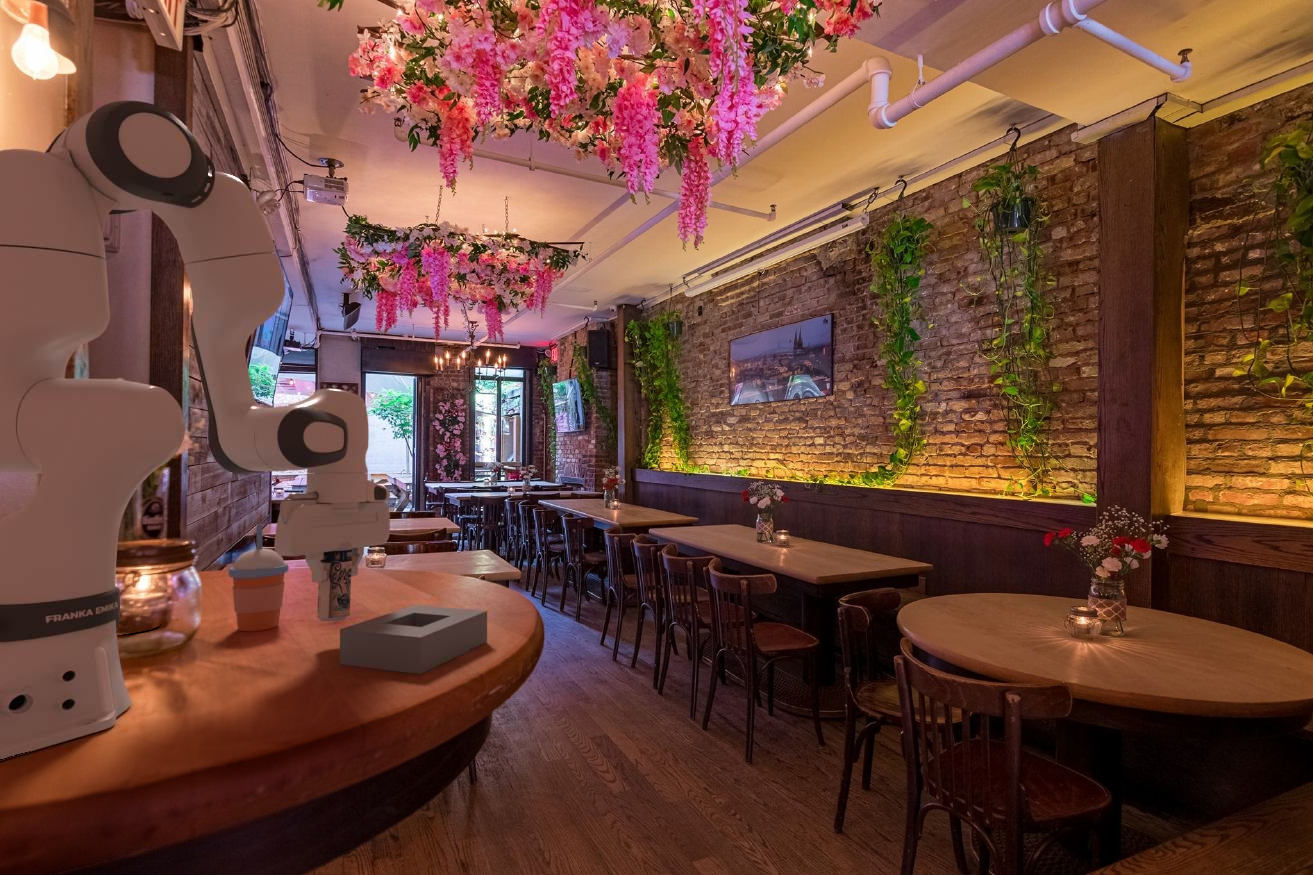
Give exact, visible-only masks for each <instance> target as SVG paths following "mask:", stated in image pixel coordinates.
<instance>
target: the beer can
mask: <svg viewBox="0 0 1313 875" xmlns="http://www.w3.org/2000/svg"><path fill="white" fill-rule="evenodd" d="M352 549H353V547H352V546H351V544H350V542H349V543H341V545H340V546H339V547H338V548H337V549H336V550H335V551H329V552H324V555H323V560H320V561H321V564H322V566H323V569H324V570H328V575H327V576H328V580H327V581H325V582H320V583H318V594H317V615H316V618H318V619H319V620H321V621H322V622H323V621H324V622H337V621H342V620H345V619H346V618H348V617H349V616H351V612H350V611H351V594H352V593H351V592H352V591H351V589H352V576H351V571H352Z"/></svg>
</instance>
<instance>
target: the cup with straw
mask: <svg viewBox="0 0 1313 875" xmlns="http://www.w3.org/2000/svg"><path fill="white" fill-rule="evenodd" d="M255 546H256V548H254V549H250V550H247V551H245V552H243V553H242V554H241V555H239V556H238V557H237V558H236V560H235V562H234V563H233V566H232V567H230V568H229V570H228V573H227V574H228V576H229V577H231V578H232V581H233V586H231V587H232V596H233V607H234V612H235V614H236V624H237V630H238V631H240V632H258V631H259V632H260V631H266V630H270V629H273V628H276V627H278V626H279V624H280V615H281V610H282V609H281V608H282V607H283V602H284V600H283V598H284V591H285V584H286V583H285V574H286V573H287V572H289V564H288V563H287V562H285V560H284V558H283V556H280V555H278V554H277V552H276V551H275V550H273V549H271V548H263V524H261V523H258V524H256V545H255Z"/></svg>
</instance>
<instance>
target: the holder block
mask: <svg viewBox="0 0 1313 875" xmlns="http://www.w3.org/2000/svg"><path fill="white" fill-rule="evenodd" d="M486 642H487V643H488V610H479V609H469V608H467V609H466V608H456V607H455V608H454V607H444V606H432V605H430V606H429V605H421V604H420V605H419V604H418V605H417V604H414V605H410V606H408V607H405V608H402V609H399V610H395V611H391V612H390V613H389V612H388V613H387V614H384V615H381V616H376V617H374V618H371V619H367V620H364V621H361V622H358V623H355V624H352V625H349V626H346V627H343V628H340V629H339V665H341V666H342V665H344V666H351V667H358V668H367V669H375V670H382V671H390V672H399V673H407V674H413V675H414V674H415V675H421V674H424V673H426V672H428V671H430V670H433V669H435V668H437V667H439V666H441V665H443V664H446V663H448V662H449V661H451V660H453V658H454V659H455V658H457V657H460V656H462V655H464V654H466V653H468V652H470V651H472V650H475V649H476V648H475V647H477V648H479V647H481V646H482V644H483V645H485V644H487V643H486ZM484 643H485V644H484ZM480 645H481V646H480ZM478 646H479V647H478ZM474 648H475V649H474ZM471 649H472V650H471Z"/></svg>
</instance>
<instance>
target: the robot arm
mask: <svg viewBox="0 0 1313 875" xmlns="http://www.w3.org/2000/svg"><path fill="white" fill-rule="evenodd" d="M209 167H210V169H211V170H209ZM139 210H150V211H152V213H153V214H155V215H156V216H158V217H159V218H160V219H161V221H163V222H164V224H166V226H167V227H168V229H169V230H170V231H171V233H172V235H173V236H174V239H176V242H177V245H178V250H179V252H180V255H181V259H182V262H183V264H184V268H185V270H186V273H187V276H188V281H189V287H190V290H191V291H190V292H191V299H192V312H191V316H190V334H191V339H192V345H193V349H194V355H195V358H196V364H197V367H198V370H199V371H198V372H199V373H198V374H199V376H200V382H201V386H202V388H203V393H204V398H205V402H206V408H207V413H208V425H207V426H208V428H207V431H208V432H207V439H208V446H209V450H210V453H211V455H212V457H213V458H214V460H215V461H216V462H217V464H218V465H219V466H221V467H222V468H223V469H224V470H226V471H228V472H231V473H233V474H235V475H250V474H259V473H265V472H287V471H305V470H306V485H305V486H306V489H305V491H306V492H300V493H299V492H291V493H289V494H288V496H286V497H285V498H283V499H282V501H281V502H280V505H279V514H278V518H277V522H276V528H275V536H274V537H275V538H274V544H273V545H274V546H273V547H274V551H275V552H277V554H278V555H280V556H281V557H298V556H305V562H306V565H307V566H308V568H309V570H310V571H311V583H318V584H319V583H320V582H325V581H327V580H328V576H327V575H328V570H324V569H323V566H322V564H321V561H320V560H323V555H324V552H329V551H335V550H336V549H337V548H338V547H339V546H340V545H341V543H349V542H350V544H351V546H352V547H353V549H352V571H351V577H356V576H358V574H359V565H360V563H361V561H362V558H363V557H364V554H365V547H371V546H380V545H385V544H386V543H387V541H388V540H389V538H390V529H391V528H390V527H391V519H390V518H391V513H390V512H391V511H390V507H389V504H388V503H387V502H388V501H389V500H390V498H391V491H390V489H389V488H387V487H386V486H383V485H381V484H379V483H377V482H374V481H372V480H370V479H368V478H369V474H368V473H369V470H368V466H367V461H366V456H367V452H368V450H369V438H370V437H369V418H368V410H367V405H366V402H365V400H364V399H363V397H361V396H360V395H358V394H357V393H355V392H352V391H349V390H346V389H338V388H331V387H330V388H328V387H327V388H319V389H316V390H315V391H314V392H313V394H312V395H310V396H309V397H306V398H304V399H303V400H300V401H297V402H294V403H290V404H289V405H283V406H282V405H281V406H280V405H279V406H273V407H272V406H271V407H262V406H261V405H259V404H258V403H257V401H256V399H255V397H254V392H253V388H252V382H251V378H250V373H249V368H248V364H247V363H248V362H247V359H246V358H247V357H246V346H247V342H248V340H249V338H250V336H251V335H252V334H253V333H254V332H255V331H256V330H257V328H259V327H260V326H262V325H263V324H265V323H266V322H267V321H269V319H270V318H272V317H273V316H274V315H275V314H276V313H277V311H278V310H279V308H280V307H281V306H282V304H283V301H284V299H285V296H286V283H285V276H284V271H283V268H282V265H281V261H280V258H279V256H278V252H277V249H276V247H275V243H274V240H273V238H272V235H271V232H270V229H269V227H268V225H267V223H266V220H265V217H264V215H263V213H262V211H261V210H260V207H259V205H258V203H257V201H256V200H255V198H254V196H253V194H252V192H251V190H250V188H249V187H248V186H247V184H245V183H244V182H243V181H242V180H241V179H239V178H238V177H236V176H234V175H231V174H228V173H226V172H222V171H217V170H216V168H215V164H214V162H213V160H211V157H209V156H208V154H206V153H205V152H204V151H203V148H202V147H201V146H200V144H199V142H198V141H197V139H196V137H195V136H194V135H193V133H192V132H191V131H190V130H189V128H188V127H187V126H186V125H185V124H184V123H183V122H182V121H181V120H180V119H179V118H178V117H177V116H175V114H173V113H171V112H170V111H168V110H167V109H165V108H163V107H161V106H158V105H156V104H153V103H150V102H148V101H147V102H146V101H142V100H141V101H140V100H118V101H112V102H108V103H106V104H103V105H102V106H100V107H98V108H97V109H96V110H93V111H90V112H87V113H85V114H82V115H80V116H79V117H77V118H76V119H75V120H74V121H73V122H72V123H70V124H69V125H68V126H67V127H66V128H65V129H64V130H62V131H61V132H60V133H59V134H58V135H57V136H56V137H55V138H54V139H53V141H52V142H51V144H49V146H48V148H46V150H45V152H42V151H38V150H33V149H25V148H23V149H22V148H11V149H2V150H0V474H2V475H4V474H5V475H6V474H11V475H12V474H13V475H14V474H41V478H40V481H39V486H38V488H37V490H36V492H35V494H34V496H33V497H32V498H31V500H30V501H29V502H28V503H27V504H26V505H25V506H24V507H23V508H21V509H18V510H17V511H14V512H12V513H10V514H8V515H6V516H4V517H3V518H1V519H0V759H3V760H5V759H4V758H7V757H9V756H13V757H15V756H14V755H15V754H20V753H23V754H26V753H25V752H27V753H30V752H33V751H36V750H40V749H43V748H47V747H50V746H52V745H56V744H60V743H64V742H68V741H69V740H70V741H71V740H73V739H76V738H80V737H84V736H88V735H91V734H93V733H97V732H100V731H103V730H107V729H110V728H111V727H113V726H114V725H115V724H116V721H117V717H119V716H120V715H121V714H122V713H123V712H126V711H127V709H129V707H130V706H131V704H132V700H131V697H130V694H129V692H128V689H127V686H126V683H125V679H124V675H123V670H122V666H121V661H120V654H119V647H118V646H119V644H118V636H117V633H116V631H117V630H118V626H119V621H120V598H121V593H120V592H121V589H120V588H119V587H117V585H116V579H117V578H116V572H117V557H118V556H117V553H118V543H119V542H118V541H119V534H120V527H121V522H122V519H123V515H124V513H125V511H126V509H127V506H128V504H129V502H130V500H131V498H132V497H133V495H134V494H135V492H136V491H137V489H138V488H139V487H140V486H141V484H142V483H144V481H145V480H146V479H147V478H148V477H149V476H150V475H151V474H152V473H154V472H155V471H156V470H157V469H159V468H160V467H161V466H164V465H165V464H166V463H168V462H169V461H170V460H171V459H173V458H174V457H175V455H176V454H177V453H178V451H179V449H180V448H181V446H182V444H183V441H184V439H185V434H186V420H185V419H186V418H185V415H184V412H183V409H182V408H181V406H180V404H179V402H178V400H176V399H175V397H174V396H173V395H172V394H171V393H170V392H169V391H168V390H166V389H164V388H163V387H160V386H155V385H151V384H146V383H142V382H141V383H140V382H136V381H132V380H123V379H120V378H119V379H118V378H117V379H116V378H66V370H67V365H68V363H69V360H70V359H71V357H72V355H73V354H74V353H75V352H76V350H77V349H78V348H80V347H81V346H82V345H85V344H88V343H90V342H91V341H93V340H95V339H97V338H99V337H100V336H101V335H102V334H103V333H104V332H105V331H106V330H107V327H108V326H109V323H110V322H111V321H110V320H111V311H110V302H109V301H110V300H109V285H108V271H107V260H106V247H105V246H106V245H105V240H104V234H103V233H104V232H105V225H106V221H107V218H108V216H109V215H120V214H121V215H122V214H127V213H128V214H129V213H133V212H136V211H139ZM29 751H30V752H29ZM20 755H21V754H20ZM7 759H8V758H7Z"/></svg>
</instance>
